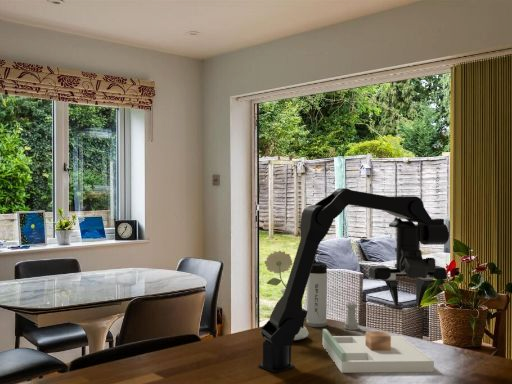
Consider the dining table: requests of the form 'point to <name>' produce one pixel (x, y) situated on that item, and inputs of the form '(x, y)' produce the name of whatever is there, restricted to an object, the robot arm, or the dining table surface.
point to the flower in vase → (280, 264)
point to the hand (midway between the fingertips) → (407, 306)
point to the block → (378, 340)
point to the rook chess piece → (351, 317)
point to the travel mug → (317, 295)
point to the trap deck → (375, 355)
